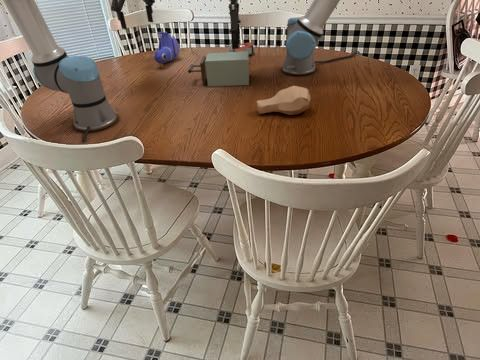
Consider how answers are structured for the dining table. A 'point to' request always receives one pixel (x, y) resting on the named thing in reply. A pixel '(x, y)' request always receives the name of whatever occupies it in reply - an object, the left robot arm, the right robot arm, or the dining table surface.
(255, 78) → the dining table surface
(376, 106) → the dining table surface
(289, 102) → the squash
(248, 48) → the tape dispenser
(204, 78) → the drawer
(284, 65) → the right robot arm
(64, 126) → the dining table surface
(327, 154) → the dining table surface
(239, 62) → the pale green box
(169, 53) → the toy
